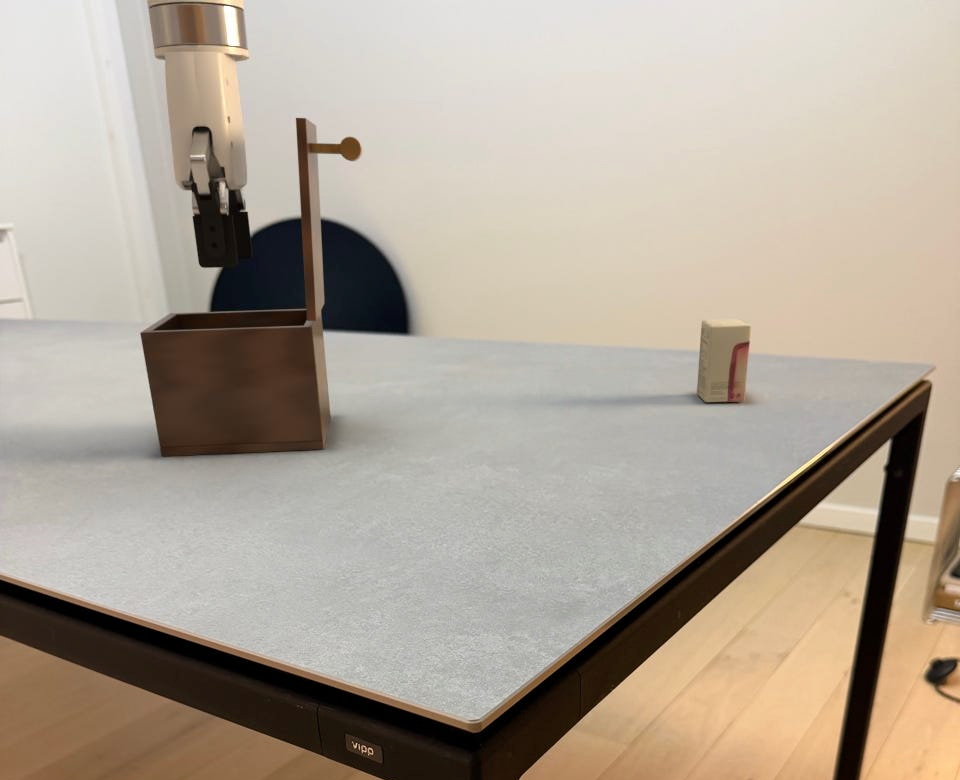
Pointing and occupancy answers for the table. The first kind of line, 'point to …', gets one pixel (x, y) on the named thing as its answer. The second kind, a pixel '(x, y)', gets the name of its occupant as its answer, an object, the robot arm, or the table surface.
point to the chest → (237, 382)
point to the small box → (723, 360)
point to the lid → (315, 206)
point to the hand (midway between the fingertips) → (227, 262)
